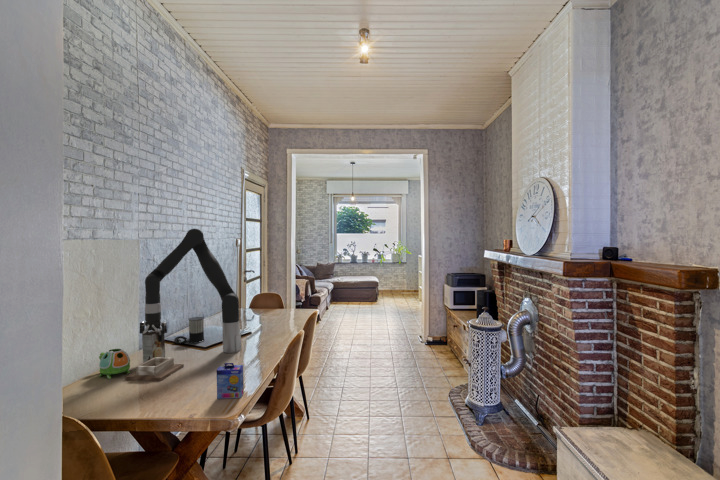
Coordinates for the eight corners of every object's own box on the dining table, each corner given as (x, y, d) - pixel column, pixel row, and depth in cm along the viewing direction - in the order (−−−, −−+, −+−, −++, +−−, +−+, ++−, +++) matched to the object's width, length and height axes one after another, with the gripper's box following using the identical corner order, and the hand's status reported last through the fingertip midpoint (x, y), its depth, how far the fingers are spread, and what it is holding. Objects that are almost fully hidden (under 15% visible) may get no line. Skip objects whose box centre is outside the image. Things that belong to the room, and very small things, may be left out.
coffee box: (155, 358, 205) (154, 329, 205) (165, 358, 204) (164, 329, 204) (142, 364, 196) (141, 333, 196) (153, 364, 195) (152, 334, 195)
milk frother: (207, 340, 238) (207, 317, 238) (184, 347, 225) (184, 322, 225) (194, 337, 246) (193, 315, 246) (171, 343, 233) (170, 320, 233)
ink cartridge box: (216, 399, 152) (215, 364, 152) (220, 393, 158) (219, 360, 157) (241, 398, 153) (240, 363, 153) (244, 392, 159) (243, 358, 158)
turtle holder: (115, 366, 193) (114, 343, 193) (136, 372, 185) (135, 348, 184) (88, 374, 182) (88, 350, 182) (109, 381, 174) (108, 355, 174)
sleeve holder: (183, 366, 191) (183, 356, 191) (161, 380, 173) (160, 369, 173) (150, 366, 193) (150, 355, 193) (125, 379, 175) (125, 368, 175)
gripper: (169, 310, 202) (170, 339, 203) (145, 309, 204) (145, 339, 204) (160, 313, 195) (161, 343, 195) (135, 312, 197) (136, 343, 197)
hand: (153, 341), depth 200 cm, fingers open, 8 cm apart
